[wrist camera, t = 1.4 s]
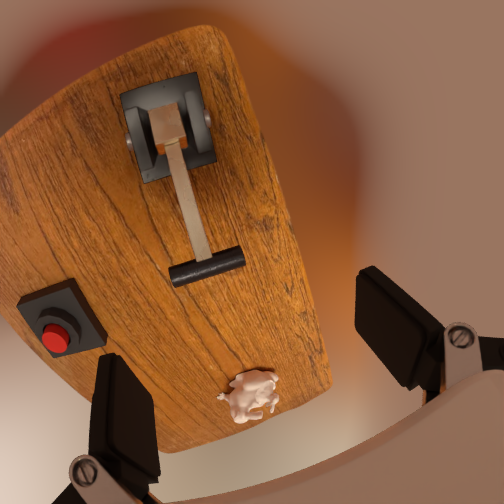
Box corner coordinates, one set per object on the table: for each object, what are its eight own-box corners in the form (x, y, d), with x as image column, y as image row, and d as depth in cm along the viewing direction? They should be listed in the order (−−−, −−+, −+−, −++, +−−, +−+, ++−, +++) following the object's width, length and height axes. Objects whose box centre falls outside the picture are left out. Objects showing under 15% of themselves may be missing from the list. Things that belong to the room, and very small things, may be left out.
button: (54, 346, 30) (52, 355, 28) (40, 326, 28) (36, 335, 26) (74, 341, 30) (71, 350, 29) (59, 320, 28) (56, 329, 27)
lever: (243, 263, 21) (248, 267, 18) (176, 285, 20) (173, 291, 17) (197, 110, 20) (197, 96, 17) (134, 129, 19) (127, 116, 16)
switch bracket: (215, 160, 30) (242, 183, 20) (144, 181, 28) (132, 217, 18) (195, 73, 25) (212, 46, 15) (121, 95, 24) (92, 80, 13)
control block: (56, 348, 34) (51, 367, 30) (21, 297, 29) (11, 314, 25) (107, 334, 35) (104, 354, 32) (73, 277, 30) (65, 295, 27)
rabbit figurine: (217, 399, 48) (229, 442, 40) (202, 379, 44) (213, 426, 36) (277, 377, 49) (296, 417, 41) (268, 354, 45) (289, 398, 37)
